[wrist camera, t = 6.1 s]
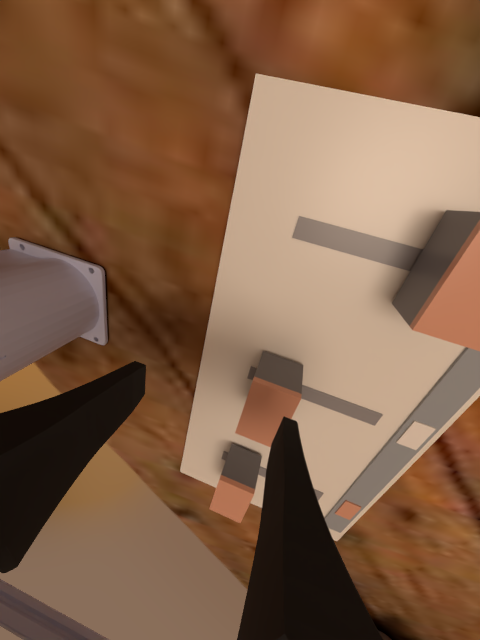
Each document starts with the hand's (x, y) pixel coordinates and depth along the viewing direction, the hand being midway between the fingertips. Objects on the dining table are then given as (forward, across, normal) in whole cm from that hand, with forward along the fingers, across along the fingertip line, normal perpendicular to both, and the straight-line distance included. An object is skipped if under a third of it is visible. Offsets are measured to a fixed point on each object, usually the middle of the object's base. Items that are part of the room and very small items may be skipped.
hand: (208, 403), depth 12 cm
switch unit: (+8, -6, +3) cm, 11 cm away
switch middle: (+6, -3, +3) cm, 8 cm away
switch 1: (+7, -3, +14) cm, 16 cm away
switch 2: (+7, -9, -8) cm, 14 cm away
